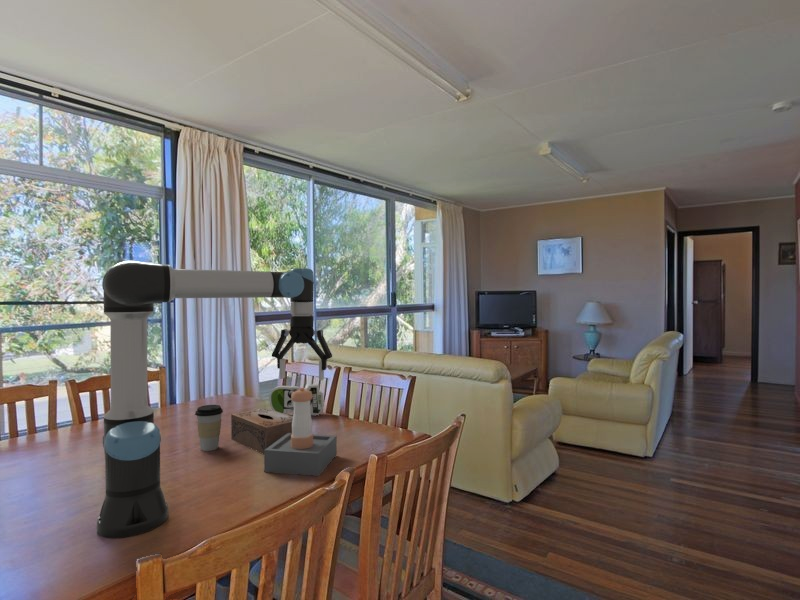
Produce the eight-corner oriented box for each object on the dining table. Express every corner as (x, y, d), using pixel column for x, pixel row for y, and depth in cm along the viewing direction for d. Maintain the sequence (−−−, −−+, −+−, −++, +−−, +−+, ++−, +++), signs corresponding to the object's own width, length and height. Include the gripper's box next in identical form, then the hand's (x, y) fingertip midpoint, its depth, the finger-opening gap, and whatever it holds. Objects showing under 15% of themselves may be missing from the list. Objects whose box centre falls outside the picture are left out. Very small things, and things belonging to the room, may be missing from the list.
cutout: (325, 385, 213) (271, 381, 210) (325, 386, 210) (270, 382, 208) (323, 417, 213) (268, 414, 211) (322, 418, 210) (267, 415, 208)
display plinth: (318, 476, 140) (318, 453, 140) (264, 472, 143) (264, 450, 143) (336, 455, 158) (336, 435, 158) (287, 452, 161) (287, 432, 161)
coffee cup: (213, 453, 159) (212, 411, 159) (189, 451, 161) (189, 409, 161) (228, 444, 169) (228, 404, 168) (205, 443, 170) (205, 403, 170)
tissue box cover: (301, 446, 168) (301, 419, 168) (266, 456, 158) (266, 427, 158) (264, 431, 186) (264, 407, 186) (231, 439, 175) (231, 414, 175)
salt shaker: (317, 444, 152) (317, 387, 151) (302, 450, 145) (302, 391, 145) (301, 440, 155) (301, 385, 155) (286, 446, 149) (285, 388, 149)
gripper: (341, 315, 151) (341, 378, 152) (271, 314, 156) (271, 375, 156) (334, 316, 144) (334, 382, 144) (261, 315, 148) (261, 379, 148)
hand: (301, 379), depth 150 cm, fingers open, 13 cm apart
